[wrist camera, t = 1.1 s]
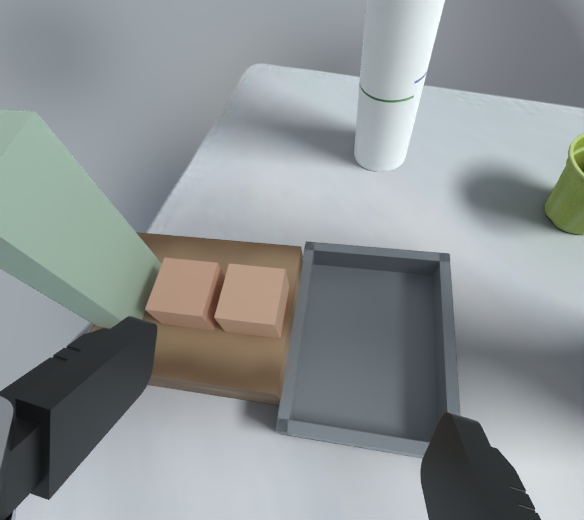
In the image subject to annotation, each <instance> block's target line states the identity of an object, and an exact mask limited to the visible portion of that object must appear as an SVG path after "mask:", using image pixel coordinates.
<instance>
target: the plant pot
mask: <svg viewBox="0 0 584 520" xmlns="http://www.w3.org/2000/svg"><path fill="white" fill-rule="evenodd" d="M545 213H546V216H547V217H549V218H550V219H551V220H552V221H553V223H554V224H555V226H556V227H558V228H560V229H562V230H564V231H566V232H569V233H573V234H581V235H583V234H584V133H583V134H581V135H579V136H578V137H576V138H575V139H574V140H573V142H572V143H571V145H570V147H569V151H568V159H567V161H566V167H565V168H564V170H563V172H562V174H561V176H560V178H559V180H558V182H557V184H556V185H555V187H554V189H553V191H552V192H551V194H550V196H549V198H548V200H547V201H546V203H545Z"/></svg>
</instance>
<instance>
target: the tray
mask: <svg viewBox="0 0 584 520" xmlns="http://www.w3.org/2000/svg"><path fill="white" fill-rule="evenodd" d="M446 412H448V413H452V414H455V415H458V416H460V403H459V388H458V373H457V358H456V344H455V329H454V314H453V299H452V284H451V269H450V254H448V253H436V252H424V251H412V250H400V249H388V248H376V247H364V246H352V245H340V244H328V243H317V242H306V244H305V250H304V256H303V264H302V271H301V277H300V283H299V289H298V295H297V302H296V308H295V314H294V320H293V326H292V333H291V339H290V345H289V351H288V358H287V364H286V370H285V376H284V382H283V389H282V395H281V400H280V405H279V411H278V417H277V423H276V430H275V431H276V432H278V433H280V434H282V435H288V436H294V437H300V438H306V439H312V440H318V441H324V442H330V443H336V444H342V445H347V446H353V447H359V448H365V449H371V450H377V451H383V452H389V453H395V454H401V455H407V456H413V457H418V458H423V456H424V454H425V452H426V449H427V447H428V445H429V443H430V441H431V439H432V436H433V434H434V432H435V430H436V428H437V426H438V423H439V421H440V419H441V417H442V416H443V414H444V413H446Z"/></svg>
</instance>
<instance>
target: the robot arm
mask: <svg viewBox="0 0 584 520" xmlns="http://www.w3.org/2000/svg"><path fill="white" fill-rule="evenodd" d="M156 339H157V325H156V324H155V323H152V322H148V321H145V320H142V319H138V318H135V317H132V316H128V317H126V318H125V319H123V320H122V321H120V322H119V323H118V324H116V325H115V326H114V327H112V328H111V329H107V328H102V329H99V330H96V331H93V332H90V333H87V334H84V335H82V336H81V337H79V338H78V339H77V340H75V341H74V342H72V343H71V344H69V345H68V346H67V348H63V349H62V350H60V351H59V352H57V353H56V354H54V356H53V358H49V359H47V360H46V361H44V362H43V363H41V364H40V365H38V366H37V367H36V368H34V369H33V370H31V371H29V372H28V373H27V374H25V375H24V376H22V377H21V378H19V379H18V380H16V381H15V382H13V383H12V384H10V385H9V386H7V387H6V388H4V389H3V390H2V391H0V520H15V517H16V508H17V506H18V505H19V504H20V503H21V502H22V501H23V500H24V499H25V498H26V497H27V496H28V495H29V494H30V493H31V494H34V495H37V496H39V497H42V498H45V499H48V500H49V499H50V498H51V497H52V496H53V495H54V494H55V492H56V491H57V490H58V489H59V488H60V487H61V486H62V484H63V483H64V482H65V481H66V480H67V479H68V478H69V476H70V475H71V474H72V473H73V472H74V471H75V469H76V468H77V467H78V466H79V465H80V464H81V463H82V461H83V460H84V459H85V458H86V457H87V456H88V455H89V453H90V452H91V451H92V450H93V449H94V448H95V447H96V445H97V444H98V443H99V442H100V441H101V440H102V438H103V437H104V436H105V435H106V434H107V433H108V432H109V430H110V429H111V428H112V427H113V426H114V425H115V424H116V422H117V421H118V420H119V419H120V418H121V417H122V415H123V414H124V413H125V412H126V411H127V410H128V409H129V407H130V406H131V405H132V404H133V403H134V402H135V401H136V399H137V398H138V397H139V396H140V395H141V394H142V392H143V391H144V390H145V388H146V386H147V384H148V382H149V380H150V377H151V374H152V370H153V363H154V355H155V347H156ZM421 484H422V489H423V494H424V499H425V503H426V508H427V513H428V518H429V520H541V519H540V517H539V515H538V513H535V507H534V505H533V503H532V501H531V499H530V497H529V495H528V494H526V493H525V491H526V490H525V488H524V486H523V484H522V482H521V480H520V478H519V476H518V474H517V472H516V470H515V469H514V467H513V466H512V465H511V464H510V463H509V462H508V461H507V459H506V458H505V457H504V456H503V455H502V454H501V452H500V451H499V450H498V449H497V448H493V447H491V446H490V444H489V441H488V439H487V437H486V435H485V433H484V431H483V429H482V427H481V425H480V423H479V422H477V421H475V420H472V419H468V418H465V417H462V416H458V415H455V414H452V413H448V412H446V413H444V414H443V416H442V417H441V419H440V421H439V423H438V426H437V428H436V430H435V432H434V434H433V436H432V439H431V441H430V443H429V445H428V447H427V449H426V452H425V454H424V456H423V459H422V464H421Z"/></svg>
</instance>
